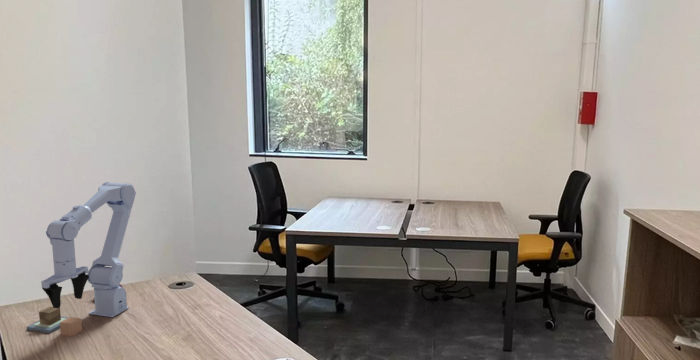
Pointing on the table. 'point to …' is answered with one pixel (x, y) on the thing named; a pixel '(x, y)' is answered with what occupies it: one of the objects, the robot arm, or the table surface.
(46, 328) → the baseplate
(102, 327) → the table surface
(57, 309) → the brass cube
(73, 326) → the terracotta cube
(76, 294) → the robot arm
